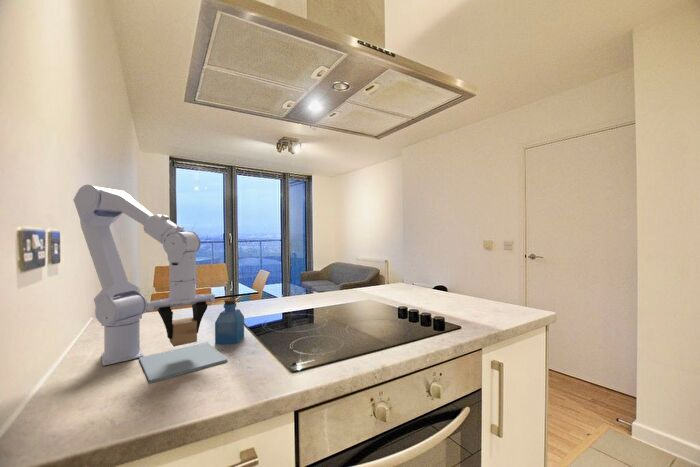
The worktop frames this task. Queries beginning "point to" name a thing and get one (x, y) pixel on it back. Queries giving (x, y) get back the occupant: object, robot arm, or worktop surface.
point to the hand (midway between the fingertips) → (183, 335)
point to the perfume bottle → (229, 324)
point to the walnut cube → (184, 331)
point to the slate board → (180, 361)
